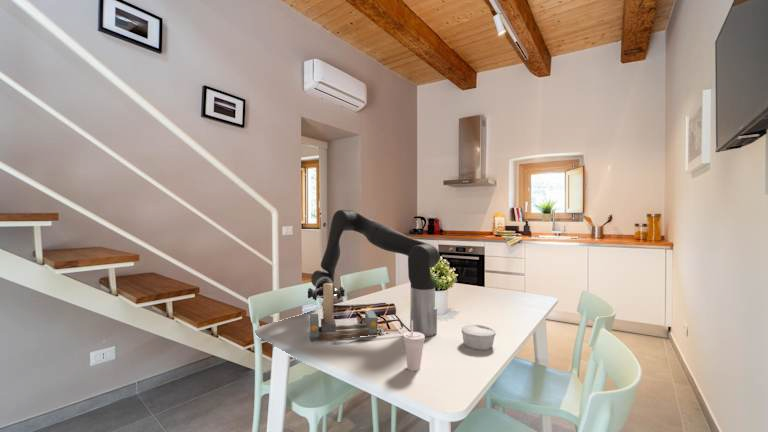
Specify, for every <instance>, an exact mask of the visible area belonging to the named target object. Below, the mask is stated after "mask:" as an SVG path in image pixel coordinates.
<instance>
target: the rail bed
mask: <svg viewBox="0 0 768 432" xmlns="http://www.w3.org/2000/svg"><path fill="white" fill-rule="evenodd" d="M373 334H374V335H376V334H377V335H378V331H377V332H376V333H373ZM368 335H371V334H370V333H369V329H368V328H366V324H365V323H356V324H339V325H337V324H336V331H327V332H322V331H321V326H319V337H317V339H316V337H312V340H313V338H315V339H316V340H317V341H316V342H322V341H335V340H334V339H339V340H344V339H343V338H352V337H360V336H368ZM318 338H319V341H318ZM352 339H353V338H352ZM313 342H315V341H314V340H313Z"/></svg>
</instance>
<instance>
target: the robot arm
mask: <svg viewBox="0 0 768 432" xmlns="http://www.w3.org/2000/svg"><path fill="white" fill-rule="evenodd" d="M347 231H353V232H356V233H359V234H361V235H364V237H365V238H366V239H367V241H368V242H369V243H371V244H372V245H373V246H376V247H377V248H379V249H382V250H384V251H386V252H387V251H388V252H392V253H395V254H396V253H397V254H401V255H405V256H407V269H408V272H407V273H408V274H407V275H408V279H409V282H410V304H409V305H410V310H409V311H410V313H409V315H410V316H409V318H410V323H409V327H410V329H409V330H410V331H409V332H411V320H413V332H420V333H422V334H424V335H425V337H432V336H434V335H437V334H438V332H437V331H438V309H437V308H436V280H435V279H434V278H433V277H432V276H431V268H433V267H435V266H436V265H437V264H438V263H439V261H440V259H441V254H440V252H439V250H438V248H436V247H435V246H434V244H431V243H427V242H424V241H420V240H417V239H415V238H412V237H410V236H408V235H406V234H404V233H402V232H400V231H397V230H396V229H393V228H391V227H389V226H387V225H385V224H382V223H379V222H377V221H374V220H371V219H368V218H367V217H365V216H363V215H362V214H361V213H360V212H359V213H358V212H357V211H355V210H352V209H339V210H337V211H335V212H334V213H333V216H332V220H331V223H330V229H329V234H328V240H327V245H326V249H325V252H324V253H323V256H322V260H321V262H320V267H321V269H322V270H315V271H314V272H313V273H312V275H311V278H310V281H311V284H312V286H313V287H315V289H313V288H311V287H309V288H308V289H307V299H311V298H312V300H314V301H317V299H323V284H325V283H333V298H336V299H337V300H340V299H341V297H343V298H344V297H345V295H346V294H345V289H344V287H342V286H340V287H338V288H336V287H335V286H334V285H335V284H334V283H335V271H336V268H337V264H338V262H339V260H340V256H341V247H340V241H341V236H342V234H343V232H347ZM323 270H324V271H323Z"/></svg>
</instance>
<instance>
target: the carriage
mask: <svg viewBox="0 0 768 432" xmlns="http://www.w3.org/2000/svg"><path fill="white" fill-rule="evenodd" d="M333 285H334V283H325V284H323V298H322V299H323V303H322V304H323V306H322V307H323V308H322V309H323V310H322V314H323V316H322V318H320V327H321V331H322V332H327V331H336V326H337V322H336V319H335V318H334V297H333Z"/></svg>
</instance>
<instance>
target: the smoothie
mask: <svg viewBox="0 0 768 432" xmlns="http://www.w3.org/2000/svg"><path fill="white" fill-rule="evenodd" d="M425 337H426V336H425V335H424V334H422V333H420V332H413V320H411V332H410V331H408V332H404V333H403V335H402V340H403V341H404V350H405V351H404V352H405V356H406V357H405V360H406V367H407V370H409V371H410V372H411V371H412V372H417V371H419V370H421V365H422V357H423V349H424V341H425V340H426V338H425Z"/></svg>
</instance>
